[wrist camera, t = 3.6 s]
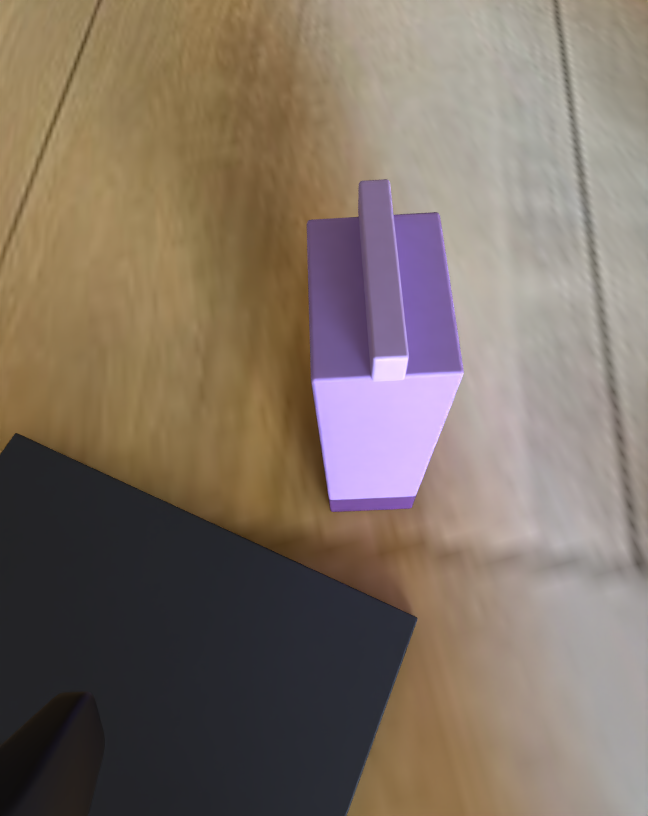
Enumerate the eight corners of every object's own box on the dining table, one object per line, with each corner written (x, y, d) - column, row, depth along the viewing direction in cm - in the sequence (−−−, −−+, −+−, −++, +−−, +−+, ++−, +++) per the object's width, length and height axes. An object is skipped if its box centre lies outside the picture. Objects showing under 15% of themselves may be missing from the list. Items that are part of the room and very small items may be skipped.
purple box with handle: (412, 511, 22) (475, 354, 11) (330, 514, 22) (307, 363, 11) (401, 404, 24) (446, 174, 13) (326, 408, 24) (303, 183, 13)
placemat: (416, 618, 20) (418, 617, 20) (98, 1499, 13) (88, 1530, 13) (21, 436, 24) (15, 432, 24) (-402, 1041, 17) (-423, 1051, 16)
